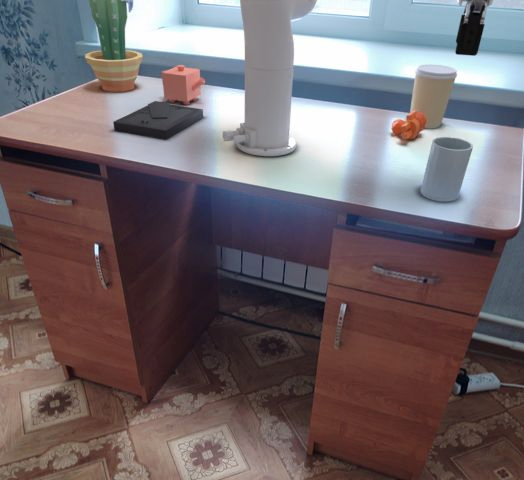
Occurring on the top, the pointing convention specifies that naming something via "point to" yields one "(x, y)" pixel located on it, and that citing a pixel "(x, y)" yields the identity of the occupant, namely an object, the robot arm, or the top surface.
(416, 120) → the orange lumpy piece
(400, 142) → the top surface
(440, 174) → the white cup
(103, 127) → the top surface
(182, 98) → the pink cube teapot
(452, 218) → the top surface
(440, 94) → the coffee cup
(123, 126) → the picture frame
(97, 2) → the potted cactus
